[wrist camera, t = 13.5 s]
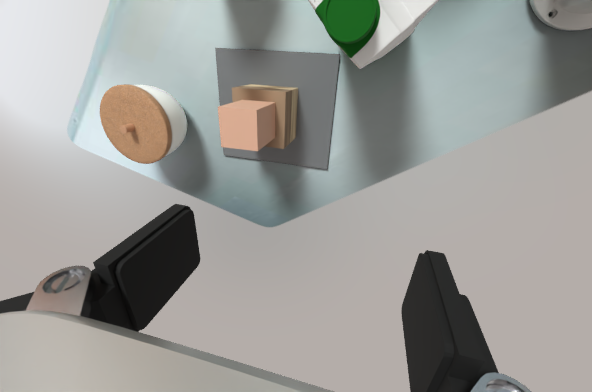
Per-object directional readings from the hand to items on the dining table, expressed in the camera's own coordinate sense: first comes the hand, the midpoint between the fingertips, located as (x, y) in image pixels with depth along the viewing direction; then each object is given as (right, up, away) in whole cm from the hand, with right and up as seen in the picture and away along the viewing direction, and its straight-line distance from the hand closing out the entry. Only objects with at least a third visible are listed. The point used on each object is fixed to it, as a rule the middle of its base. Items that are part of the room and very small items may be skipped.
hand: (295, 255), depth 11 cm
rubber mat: (-4, +17, +35) cm, 39 cm away
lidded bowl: (-24, +18, +40) cm, 50 cm away
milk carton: (+11, +26, +26) cm, 38 cm away
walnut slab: (-5, +15, +31) cm, 35 cm away
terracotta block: (-5, +14, +28) cm, 32 cm away
